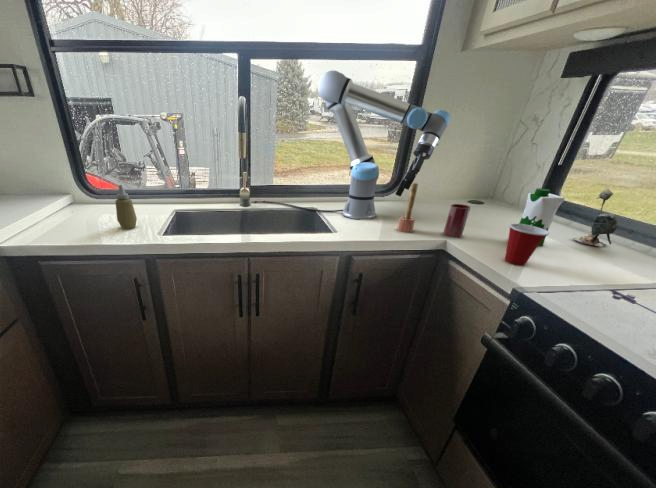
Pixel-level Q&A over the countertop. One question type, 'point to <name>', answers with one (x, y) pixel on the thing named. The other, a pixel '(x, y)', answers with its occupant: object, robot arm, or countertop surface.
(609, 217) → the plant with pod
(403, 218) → the straw caddy
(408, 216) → the straw
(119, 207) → the squeeze bottle
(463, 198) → the countertop surface
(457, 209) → the can
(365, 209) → the robot arm
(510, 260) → the plastic cup
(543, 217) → the milk carton
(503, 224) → the countertop surface
